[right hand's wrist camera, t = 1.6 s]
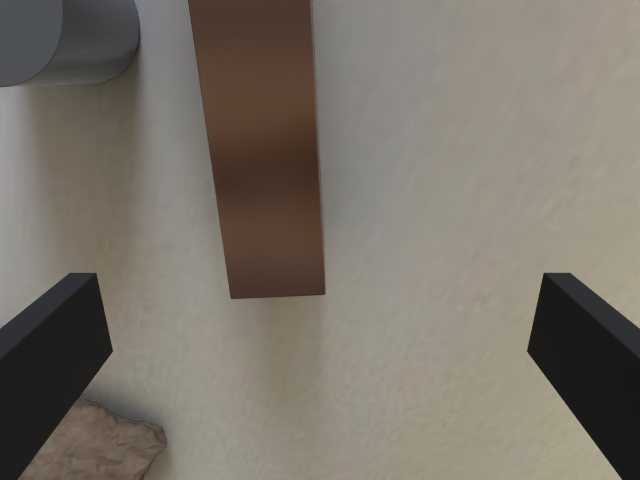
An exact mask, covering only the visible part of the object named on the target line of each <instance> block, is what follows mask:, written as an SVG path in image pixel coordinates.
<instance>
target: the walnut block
mask: <svg viewBox="0 0 640 480" xmlns="http://www.w3.org/2000/svg"><path fill="white" fill-rule="evenodd" d="M188 3H189V10H190V17H191V24H192V31H193V38H194V45H195V52H196V59H197V66H198V73H199V80H200V87H201V94H202V101H203V108H204V115H205V122H206V129H207V136H208V143H209V150H210V157H211V164H212V171H213V178H214V185H215V192H216V199H217V206H218V213H219V220H220V227H221V234H222V241H223V248H224V255H225V262H226V269H227V276H228V283H229V290H230V297H231V299H243V298H266V297H288V296H310V295H325V293H326V290H325V251H324V225H323V205H322V186H321V166H320V146H319V126H318V106H317V86H316V66H315V47H314V27H313V7H312V0H188Z"/></svg>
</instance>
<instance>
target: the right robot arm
mask: <svg viewBox="0 0 640 480" xmlns="http://www.w3.org/2000/svg"><path fill="white" fill-rule="evenodd" d="M112 352H113V349H112V345H111V340H110V335H109V331H108V326H107V321H106V317H105V312H104V307H103V303H102V298H101V293H100V288H99V284H98V279H97V274H96V273H69V274H68V275H67V276H66V277H64V278H63V279H62V280H61V281H59V282H58V283H57V284H56V285H54V286H53V287H52V288H51V289H49V290H48V291H47V292H46V293H44V294H43V295H42V296H41V297H39V298H38V299H37V300H36V301H34V302H33V303H32V304H31V305H29V306H28V307H27V308H26V309H24V310H23V311H22V312H21V313H19V314H18V315H17V316H16V317H14V318H13V319H12V320H11V321H9V322H8V323H7V324H6V325H4V326H3V327H2V328H1V329H0V480H18V479H19V477H20V476H21V475H22V473H23V472H24V471H25V469H26V468H27V466H28V465H29V464H30V462H31V461H32V460H33V458H34V457H35V456H36V454H37V453H38V452H39V450H40V449H41V448H42V446H43V445H44V444H45V442H46V441H47V440H48V438H49V437H50V435H51V434H52V433H53V431H54V430H55V429H56V427H57V426H58V425H59V423H60V422H61V421H62V419H63V418H64V417H65V415H66V414H67V413H68V411H69V410H70V409H71V407H72V406H73V404H74V403H75V402H76V400H77V399H78V398H79V396H80V395H81V394H82V392H83V391H84V390H85V388H86V387H87V386H88V384H89V383H90V382H91V380H92V379H93V378H94V376H95V375H96V373H97V372H98V371H99V369H100V368H101V367H102V365H103V364H104V363H105V361H106V360H107V359H108V357H109V356H110V355H111V353H112ZM527 352H528V353H529V355H530V356H531V357H532V359H533V360H534V361H535V363H536V364H537V365H538V367H539V368H540V369H541V371H542V372H543V373H544V375H545V376H546V378H547V379H548V380H549V382H550V383H551V384H552V386H553V387H554V388H555V390H556V391H557V392H558V394H559V395H560V396H561V398H562V399H563V400H564V402H565V403H566V404H567V406H568V407H569V409H570V410H571V411H572V413H573V414H574V415H575V417H576V418H577V419H578V421H579V422H580V423H581V425H582V426H583V427H584V429H585V430H586V431H587V433H588V434H589V435H590V437H591V438H592V440H593V441H594V442H595V444H596V445H597V446H598V448H599V449H600V450H601V452H602V453H603V454H604V456H605V457H606V458H607V460H608V461H609V462H610V464H611V465H612V466H613V468H614V469H615V471H616V472H617V473H618V475H619V476H620V477H621V479H622V480H640V329H639V328H638V327H637V326H636V325H634V324H633V323H632V322H631V321H629V320H628V319H627V318H626V317H624V316H623V315H622V314H621V313H619V312H618V311H617V310H616V309H614V308H613V307H612V306H611V305H609V304H608V303H607V302H606V301H604V300H603V299H602V298H601V297H599V296H598V295H597V294H596V293H594V292H593V291H592V290H591V289H589V288H588V287H587V286H586V285H584V284H583V283H582V282H581V281H579V280H578V279H577V278H576V277H574V276H573V275H572V274H571V273H544V274H543V279H542V284H541V288H540V293H539V298H538V302H537V307H536V312H535V317H534V321H533V326H532V331H531V335H530V340H529V345H528V349H527Z"/></svg>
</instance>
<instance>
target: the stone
mask: <svg viewBox="0 0 640 480" xmlns="http://www.w3.org/2000/svg"><path fill="white" fill-rule="evenodd" d="M166 447H167V440H166V436H165V434H164V431H163V428H162V427H160V426H157V425H153V424H149V423H147V422H146V421H139V422H137V421H133V420H129V419H124V418H120V417H119V416H117V415H116V414H115V413H112V412H110V411H109V410H108V409H106V408H105V407H104V406H103V405H101V404H98V403H96V402H90V401H88V400H86V399H77V400H76V402H75V403H74V404H73V406H72V407H71V409H70V410H69V411H68V413H67V414H66V415H65V417H64V418H63V419H62V421H61V422H60V423H59V425H58V426H57V427H56V429H55V430H54V431H53V433H52V434H51V435H50V437H49V438H48V440H47V441H46V442H45V444H44V445H43V446H42V448H41V449H40V450H39V452H38V453H37V454H36V456H35V457H34V458H33V460H32V461H31V462H30V464H29V465H28V466H27V468H26V469H25V471H24V472H23V473H22V475H21V476H20V477H19V479H18V480H143V477H144V475H145V474H146V472H147V471H148V469H149V468H150V465H151V463H152V462H153V460H154V458H155V457H156V455H157V454H158V453H160V452H162V451H163V450H164V449H165V448H166Z"/></svg>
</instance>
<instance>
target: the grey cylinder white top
mask: <svg viewBox="0 0 640 480" xmlns="http://www.w3.org/2000/svg"><path fill="white" fill-rule="evenodd" d="M139 31H140V28H139V18H138V12H137V9H136V5H135V2H134V0H0V87H18V86H45V85H71V84H95V83H101V82H105V81H108V80H111V79H112V78H114V77H116V76H118V75H119V74H120V73H122V72H123V71H124V70H125V69H126V67H127V66H128V65H129V64H130V62H131V61H132V59H133V57H134V55H135V52H136V49H137V46H138V41H139Z"/></svg>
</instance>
